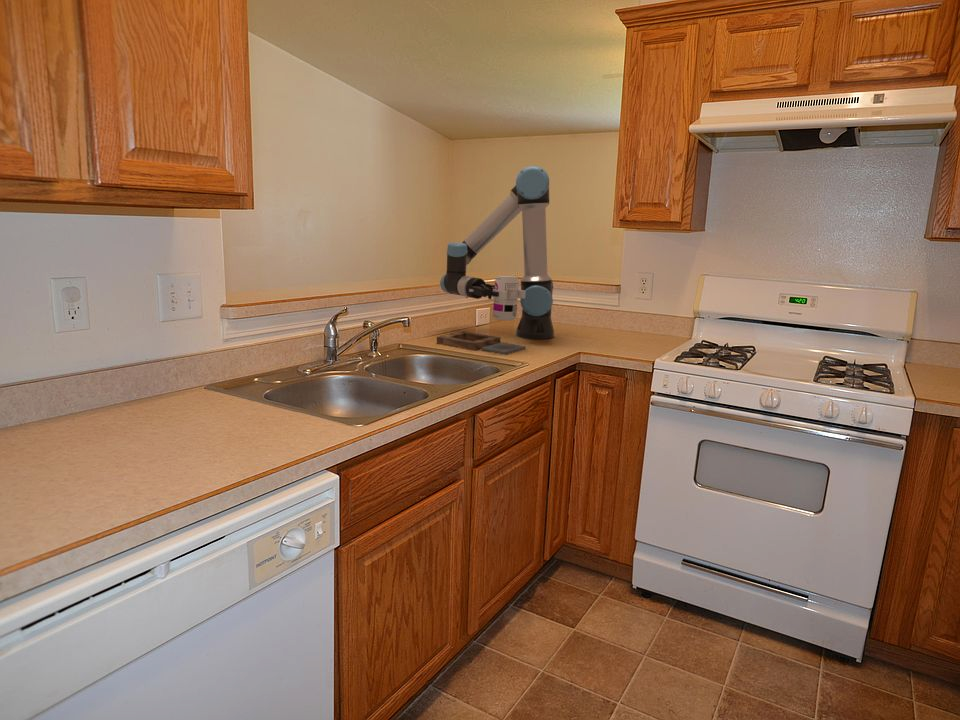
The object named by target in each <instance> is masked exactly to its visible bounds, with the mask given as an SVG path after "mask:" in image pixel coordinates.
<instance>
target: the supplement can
mask: <svg viewBox="0 0 960 720" xmlns="http://www.w3.org/2000/svg"><path fill="white" fill-rule="evenodd" d="M519 284H520V283H519V279H518V276H517V275H516V276H515V275H505V274H504V275H503V274H499V275H497V276H496V278H495V280H494V285H495V290H500V291H506V292H507V300H504V299H499V298H494V297H493V307H492V308H493V309H492V310H493V311H492V317H493V318H494V320H498V321H515V319H516V318H517V312H518V310H517V309H518V299H519V298H518V290H519Z"/></svg>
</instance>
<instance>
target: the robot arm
mask: <svg viewBox="0 0 960 720" xmlns="http://www.w3.org/2000/svg"><path fill="white" fill-rule="evenodd" d="M549 205H550V177H549V175H548V173H547V171H546V170H545V169H544V168H542V167H541V166H538V165H527V166H525V167H524V168H523V169H521V170H520V171H519V173H518V174H517V176H516V180H515V185H514V187H512V188H511V189H510V192H509V195H508V196H507V197H506V198H505V199H504V200H503V201H502V202H501V203H500V204H499V205H498V206H497V207H496V208H495V209H494V210H493V211H492V212H491V213H490V214H489V215H488V216H487V217H486V218H485V219H484V220H483V221H482V222H481V223H480V224H479V225H478V226H477V227H476V228H475V229H474V230H473V231H472V232H471V233H470V234H469V235H468V236H467V237H466V238H465V239H464V240H463V241H462V242H449V243H448V244H447V249H446V273H444V274H443V275H442V277H441V278H440V282H439V286H440V289H441V290H442V291H443V292H445V293H447V294H450V295H455V296H462V297H465V299H468V298H471V299H481V298H483V297H484V298H487V300H492V298H493V299H494V298H499V299H504V300H507V292H506V291H500V290H495V284H490V283H486V282H485V280H484V279H482V278H480V277H479V278H478V277H475V276H474V277H473V276H468V275H467V266H468V264H471V262H472V260H473V259H475V257H476V256H477V255H478V254H479V253H481V251H482V250H483V249H484V248H485V247H486V246H487V245H488V244H490V243H491V241H492V240H494V239H495V237H497V236H498V235H499V233H501V232H502V231H503V230H504V229H505V228H506V227H507V226H508V225H509V224H510V223H511V222H512V221H513V220H514V219H515V218H516V217H517V216H518V215H519V214H520V213H521V216H522V217H521V218H522V241H523V242H522V246H523V247H522V248H523V249H522V250H523V269H524V270H523V271H524V272H523V273H524V275H523V277H522V278H521V279H520V289H518V299H519V301H520V305H521V317H520V320H519V322H518V326H517V328H516V332H515V333H516V336H518V337H521V338H525V339H531V340H532V339H533V340H535V339H536V340H547V339H548V340H549V339H552V338H554V336H555V329H554V326H553V322H552V317H551V316H552V306H553V302H554V299H553V293H554V292H553V290H554V281H553V279H552V277H551V276H550V275H549V274H548V251H547V250H548V247H547V216H546V214H547V213H546V209H547V208H548V206H549Z"/></svg>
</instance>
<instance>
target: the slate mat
mask: <svg viewBox="0 0 960 720" xmlns="http://www.w3.org/2000/svg"><path fill="white" fill-rule="evenodd" d="M522 349H523V350H526V345H520V344H514V343H509V342H501V341H500V343H497V344H494V345H490V346H486V347H482V348H481V349H480V351H481V350H483V351H482V352H486V351H489V352H488V353H492V352H494V353H493V354H498V353H500V354H499V355H503V354H505V355H504V356H506V354H507V355H509V353H510V354H512V352H513V353H516V351H517V352H520V351H523V350H522ZM519 350H520V351H519Z"/></svg>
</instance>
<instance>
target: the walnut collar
mask: <svg viewBox="0 0 960 720" xmlns="http://www.w3.org/2000/svg"><path fill="white" fill-rule="evenodd" d="M497 343H501V336H497V335H489V334H483V333H477V332H471V331H465V330H462V331H457V332H454V333H448V334H445V335H439V336H436V344H437V345H441V344H442V346H447V345H448V347H453V346H455V347H454V348H458V347H460V348H459V349H464V348H465V349H466V350H469V349H471V350H470V351H478V349H479V350H481V348H482V347H486V346H490V345H494V344H497ZM465 349H464V350H465Z"/></svg>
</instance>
